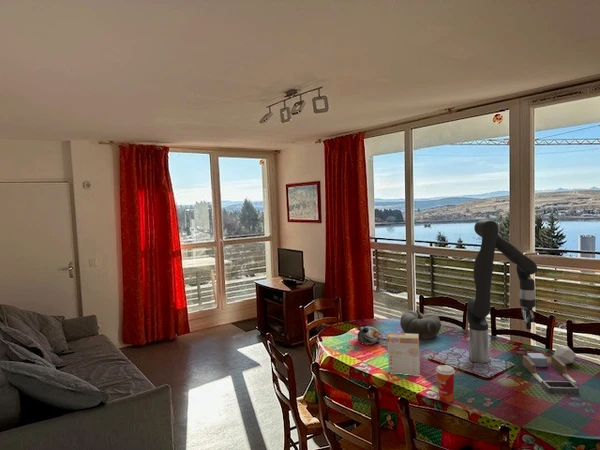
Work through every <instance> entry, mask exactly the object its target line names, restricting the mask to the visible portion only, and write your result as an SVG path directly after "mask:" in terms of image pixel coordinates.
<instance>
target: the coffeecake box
mask: <svg viewBox="0 0 600 450" xmlns="http://www.w3.org/2000/svg"><path fill="white" fill-rule="evenodd" d="M387 357H388V361H387V362H388V373H389V372H390V373H402V374H411V375H419V374H420V372H421V369H420V368H421V365H420V361H421V360H420V338H419V334H408V333H404V332H403V333H402V332H391V331H390V332H388V334H387ZM419 376H420V375H419Z"/></svg>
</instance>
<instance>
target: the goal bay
mask: <svg viewBox="0 0 600 450" xmlns="http://www.w3.org/2000/svg"><path fill="white" fill-rule="evenodd" d="M532 376H533V377H534V379H536V380H537V381H538V382H539V383H540V384H542V381H544V380H543V379H542V377H541V376H540V375H538V374H537V372H536V373H533V375H532ZM562 376H563V378H565V379H566V381H571V382H572V383H573V384H574V385H577V381H576V380H574V378H572V377H571V376H570V375H569V374H568V373H566V374H563V375H562Z"/></svg>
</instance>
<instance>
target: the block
mask: <svg viewBox="0 0 600 450" xmlns="http://www.w3.org/2000/svg"><path fill="white" fill-rule="evenodd" d="M526 356H527V357H528V358H529V359H530V360H531V361H532V362H533V363H534V364H535V365H536V368H537V367H540V368H541V367H542V368H543V367H544V368H547V367H548V358H547V356H545V354H543V353H540V352H539V353H538V352H527V353H526Z"/></svg>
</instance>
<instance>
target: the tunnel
mask: <svg viewBox="0 0 600 450" xmlns="http://www.w3.org/2000/svg"><path fill="white" fill-rule="evenodd" d="M550 358H551V359H550V361H551V367H553V369H554V370H556V371H557V372H558V373H559V374H560V375H562V376H563V374H567V364H564V363H563V362H561V361H560V360H559V359H558V358H556V357H555V356H553V355H551V357H550ZM522 366H523V367H524V368H525V369H526V370H527V371H528V372H529V373H530V374H531V375H532V376H533V373H536V374H537V366H536V365H535V364H534V363H533V362H532V361H531V360H530V359H529V358H528V357H527V355H522Z"/></svg>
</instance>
